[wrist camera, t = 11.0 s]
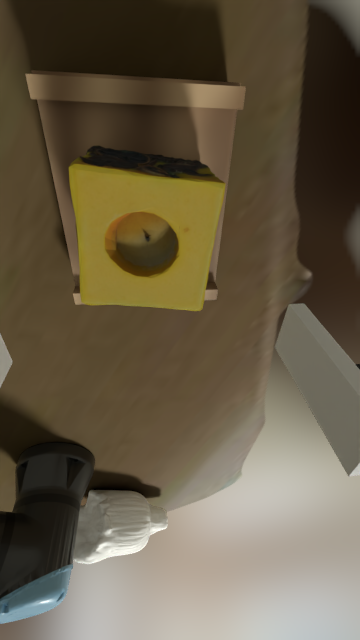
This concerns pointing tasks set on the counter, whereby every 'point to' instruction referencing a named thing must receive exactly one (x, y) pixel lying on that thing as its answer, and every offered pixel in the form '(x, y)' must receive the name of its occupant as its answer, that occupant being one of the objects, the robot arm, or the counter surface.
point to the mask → (115, 525)
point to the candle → (144, 228)
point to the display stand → (134, 130)
